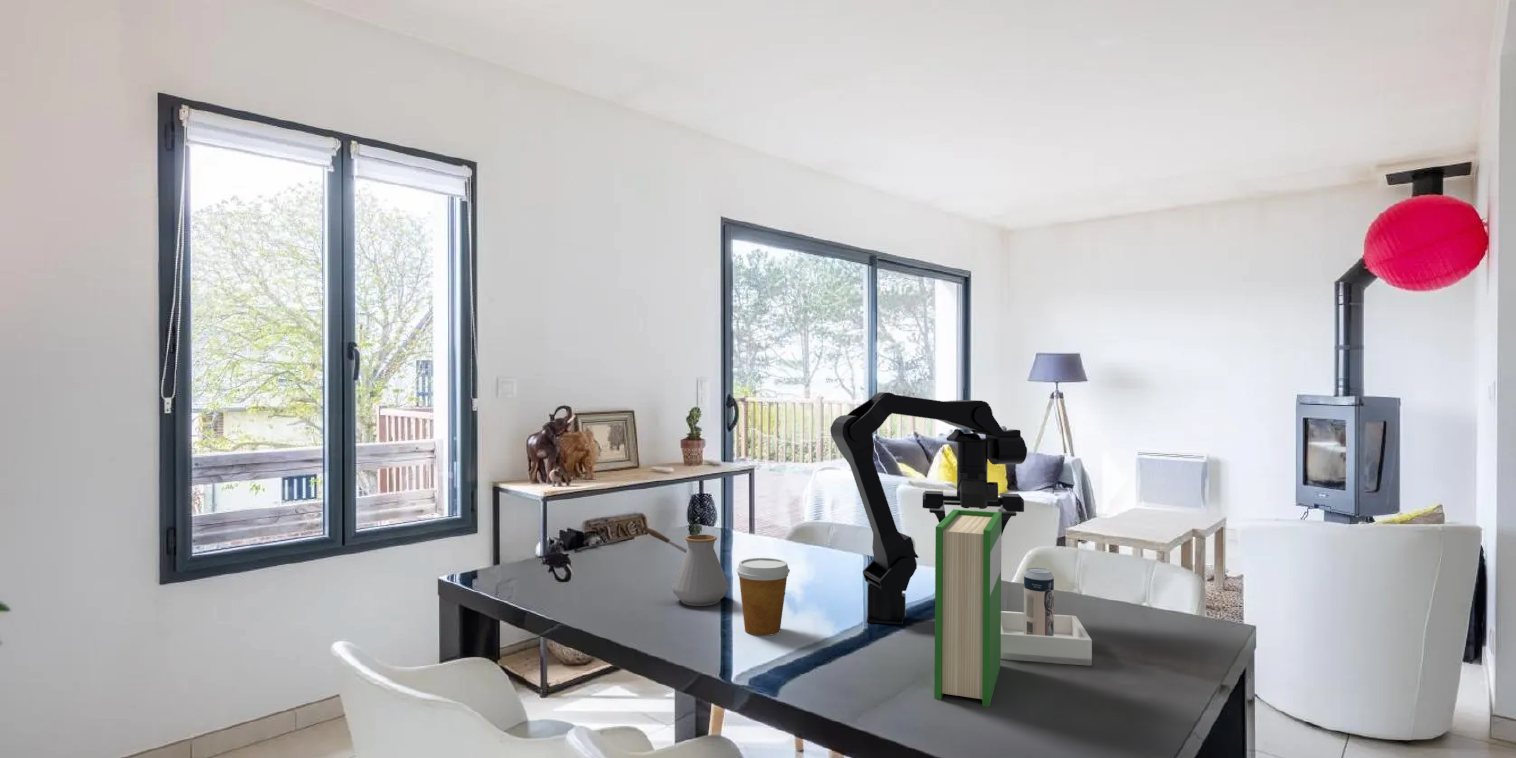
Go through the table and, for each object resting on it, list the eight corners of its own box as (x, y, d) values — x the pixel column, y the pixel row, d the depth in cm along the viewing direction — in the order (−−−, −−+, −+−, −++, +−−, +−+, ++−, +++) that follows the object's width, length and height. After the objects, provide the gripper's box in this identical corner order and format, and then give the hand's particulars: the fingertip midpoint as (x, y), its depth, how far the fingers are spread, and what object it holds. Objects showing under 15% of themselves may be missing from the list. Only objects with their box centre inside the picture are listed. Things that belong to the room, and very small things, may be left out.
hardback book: (989, 706, 110) (990, 530, 110) (934, 698, 113) (935, 526, 113) (1000, 665, 126) (1001, 512, 127) (952, 659, 129) (953, 509, 129)
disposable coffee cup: (800, 630, 144) (800, 562, 144) (764, 642, 137) (764, 571, 137) (761, 619, 150) (761, 554, 150) (724, 630, 143) (725, 562, 143)
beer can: (1055, 647, 132) (1056, 574, 132) (1025, 645, 133) (1025, 572, 133) (1051, 638, 137) (1051, 568, 137) (1021, 636, 138) (1022, 566, 138)
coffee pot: (737, 597, 166) (737, 524, 166) (715, 611, 155) (716, 533, 156) (645, 587, 174) (645, 517, 174) (618, 600, 163) (618, 526, 163)
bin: (998, 658, 129) (999, 633, 129) (992, 633, 143) (992, 610, 143) (1091, 665, 127) (1091, 640, 127) (1075, 638, 140) (1075, 615, 140)
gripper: (922, 467, 150) (922, 551, 150) (1027, 470, 146) (1027, 557, 146) (922, 462, 161) (922, 540, 161) (1020, 464, 157) (1020, 545, 157)
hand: (971, 545), depth 156 cm, fingers open, 9 cm apart
